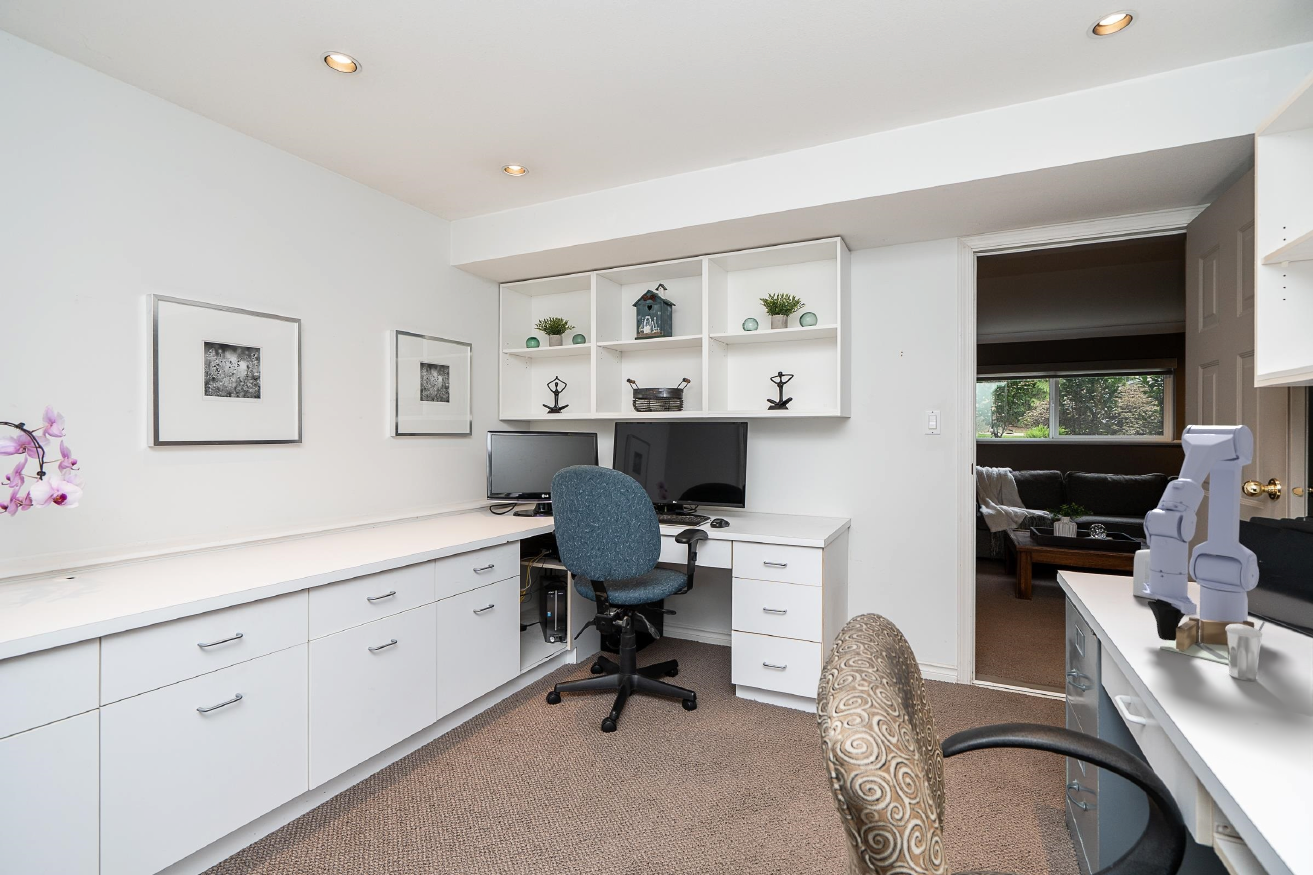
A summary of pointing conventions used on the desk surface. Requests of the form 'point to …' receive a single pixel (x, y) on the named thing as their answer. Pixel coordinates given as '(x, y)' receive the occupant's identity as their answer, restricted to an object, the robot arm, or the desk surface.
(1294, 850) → the desk surface
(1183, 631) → the fence wing
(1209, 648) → the card
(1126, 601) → the desk surface
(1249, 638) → the milkshake
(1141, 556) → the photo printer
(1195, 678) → the desk surface
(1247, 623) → the fence fixed
